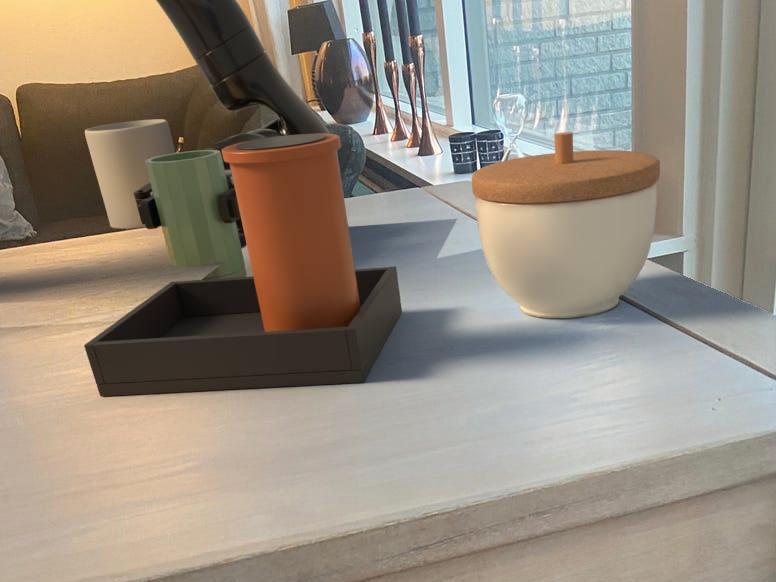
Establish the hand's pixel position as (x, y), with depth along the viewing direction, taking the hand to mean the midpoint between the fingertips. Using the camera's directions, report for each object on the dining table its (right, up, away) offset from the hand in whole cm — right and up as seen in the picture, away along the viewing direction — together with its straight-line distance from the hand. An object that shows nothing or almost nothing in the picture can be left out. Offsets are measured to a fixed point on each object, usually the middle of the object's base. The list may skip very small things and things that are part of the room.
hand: (186, 213), depth 80 cm
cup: (+1, -4, +5) cm, 6 cm away
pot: (+14, -16, -17) cm, 27 cm away
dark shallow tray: (+10, -16, -14) cm, 23 cm away
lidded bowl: (+31, -12, -11) cm, 35 cm away
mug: (-11, +9, +26) cm, 30 cm away
